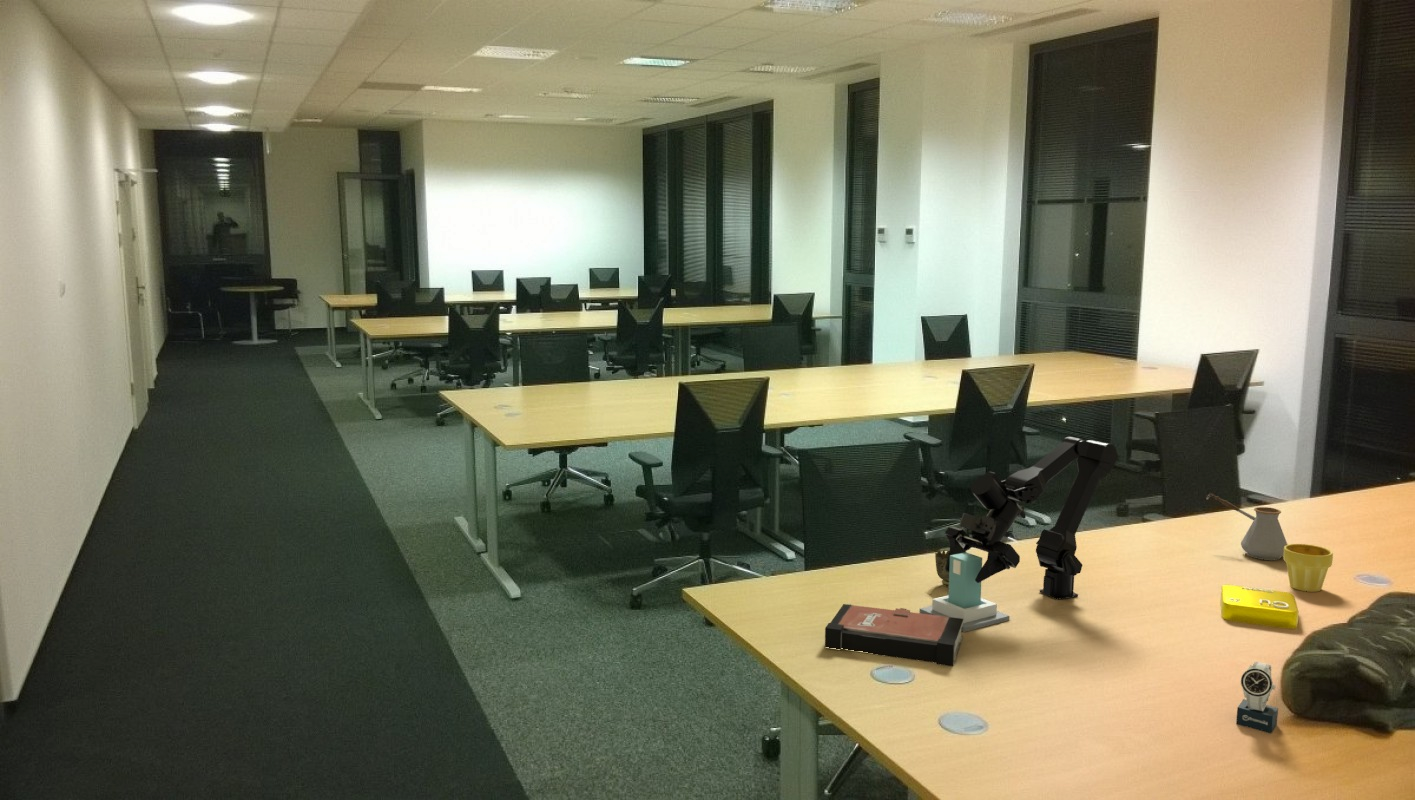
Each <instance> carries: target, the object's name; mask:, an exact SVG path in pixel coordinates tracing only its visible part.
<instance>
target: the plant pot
mask: <svg viewBox="0 0 1415 800" xmlns="http://www.w3.org/2000/svg"><path fill="white" fill-rule="evenodd" d="M1333 559H1334V553H1333V551H1332V550H1331V549H1330V548H1327V547H1323V546H1319V545H1314V544H1308V543H1290V544H1288V545H1286V546H1285V547H1284V556H1283V561H1284V562H1285V563H1286V568H1287V569H1286V570H1287V575H1288V580H1289V586H1290V587H1291V588H1292V589H1293V590H1296V591H1301V592H1306V591H1307V592H1308V593H1315V592H1317V593H1318V592H1319V591H1321V590H1322V588H1323V585H1324V584H1325V583H1324V582H1325V579H1326V576H1327V573H1328V571H1329V568H1331V567H1332V566H1333ZM1307 592H1306V593H1307Z"/></svg>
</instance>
